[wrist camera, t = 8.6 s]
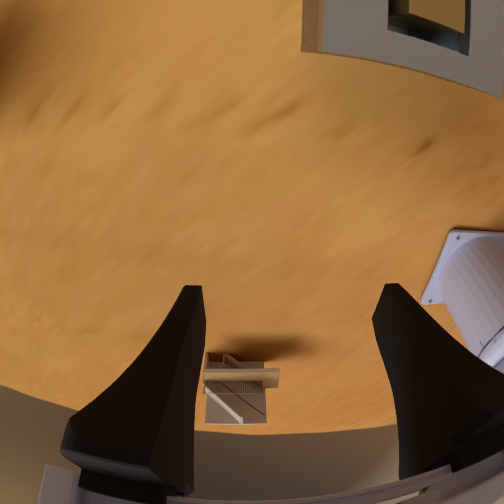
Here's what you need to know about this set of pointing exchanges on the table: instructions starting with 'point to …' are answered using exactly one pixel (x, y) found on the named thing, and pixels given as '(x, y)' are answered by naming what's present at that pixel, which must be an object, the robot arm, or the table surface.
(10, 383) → the table surface
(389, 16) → the tan wooden block
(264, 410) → the architectural model
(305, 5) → the grey square frame
